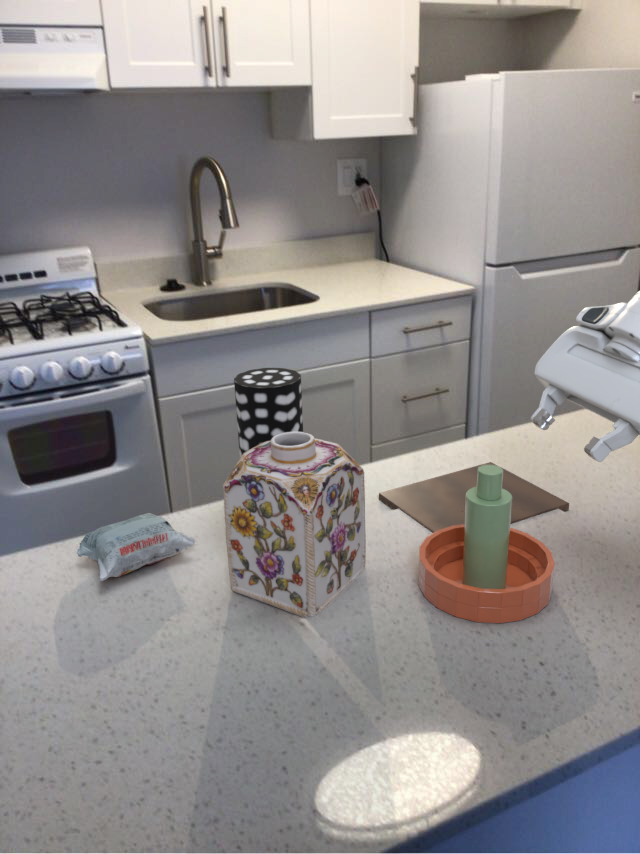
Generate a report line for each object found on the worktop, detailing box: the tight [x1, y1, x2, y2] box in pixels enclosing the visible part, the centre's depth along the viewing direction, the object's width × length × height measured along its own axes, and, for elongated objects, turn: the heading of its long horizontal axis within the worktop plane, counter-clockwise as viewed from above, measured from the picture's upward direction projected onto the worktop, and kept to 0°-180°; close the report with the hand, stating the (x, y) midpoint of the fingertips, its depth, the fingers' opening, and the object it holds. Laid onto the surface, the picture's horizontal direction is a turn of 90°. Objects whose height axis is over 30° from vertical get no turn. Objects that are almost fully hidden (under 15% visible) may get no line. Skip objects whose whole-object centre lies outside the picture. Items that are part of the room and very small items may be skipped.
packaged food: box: [76, 512, 195, 582], centre depth 91 cm, size 9×12×5 cm
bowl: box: [418, 524, 556, 624], centre depth 84 cm, size 14×14×4 cm
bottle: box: [462, 464, 512, 589], centre depth 82 cm, size 5×5×14 cm
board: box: [378, 461, 570, 534], centre depth 103 cm, size 20×16×1 cm
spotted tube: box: [233, 367, 304, 459], centre depth 97 cm, size 8×8×20 cm
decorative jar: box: [222, 431, 367, 619], centre depth 84 cm, size 12×12×18 cm
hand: (562, 440), depth 81 cm, fingers open, 8 cm apart
